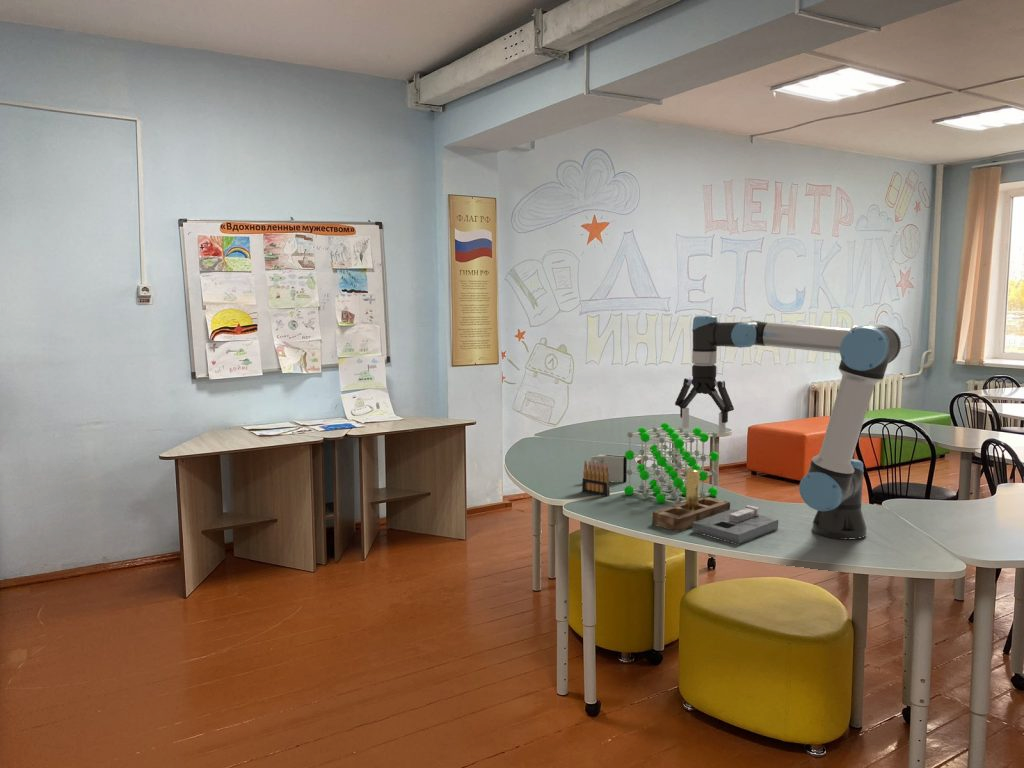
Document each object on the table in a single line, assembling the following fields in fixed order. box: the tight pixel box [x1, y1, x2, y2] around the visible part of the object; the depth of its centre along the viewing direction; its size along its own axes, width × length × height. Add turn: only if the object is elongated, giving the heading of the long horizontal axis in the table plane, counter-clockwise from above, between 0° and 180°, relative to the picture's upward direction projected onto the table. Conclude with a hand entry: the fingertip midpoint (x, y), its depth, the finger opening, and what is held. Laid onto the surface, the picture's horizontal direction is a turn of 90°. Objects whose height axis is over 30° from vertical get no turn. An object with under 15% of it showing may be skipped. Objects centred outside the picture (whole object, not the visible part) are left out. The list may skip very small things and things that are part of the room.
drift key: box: [729, 504, 761, 523], centre depth 235 cm, size 4×12×2 cm, turn 131°
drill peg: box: [685, 469, 700, 511], centre depth 244 cm, size 4×4×16 cm
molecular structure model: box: [623, 422, 720, 505], centre depth 271 cm, size 24×25×24 cm
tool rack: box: [651, 495, 731, 532], centre depth 244 cm, size 10×28×4 cm, turn 131°
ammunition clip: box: [581, 459, 611, 497], centre depth 275 cm, size 11×2×12 cm, turn 53°
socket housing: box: [691, 508, 779, 545], centre depth 232 cm, size 16×22×3 cm
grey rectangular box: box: [590, 454, 628, 483], centre depth 294 cm, size 14×5×10 cm, turn 84°
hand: (703, 430), depth 243 cm, fingers open, 13 cm apart
